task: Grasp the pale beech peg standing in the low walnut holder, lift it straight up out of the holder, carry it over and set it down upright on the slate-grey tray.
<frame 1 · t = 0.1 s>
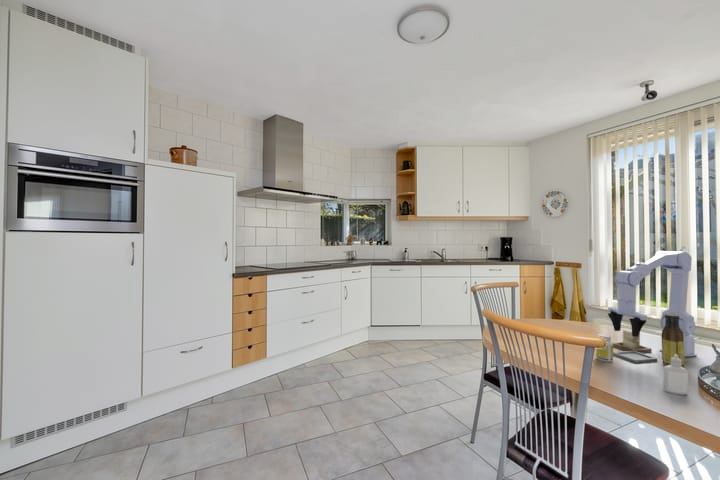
hand: (626, 333, 132), 10 cm above the table, tool pointing down, fingers open, 7 cm apart
eye dropper bottle: (675, 392, 103), on the table
sauce bottle: (672, 366, 124), on the table
supplement bottle: (604, 360, 130), on the table
peg: (631, 340, 143), in the holder
holder: (631, 349, 143), on the table
tray: (634, 358, 132), on the table
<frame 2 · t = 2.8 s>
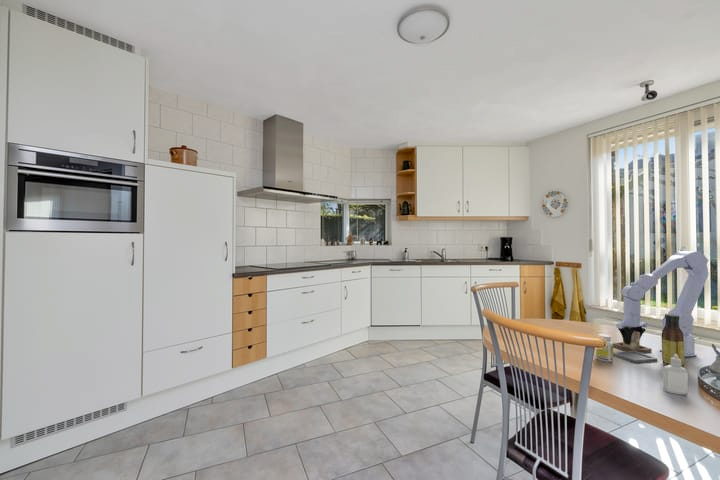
hand: (631, 343, 143), 2 cm above the table, tool pointing down, fingers closed on peg, 4 cm apart
peg: (631, 340, 143), in the holder, touching gripper
everything else where it was.
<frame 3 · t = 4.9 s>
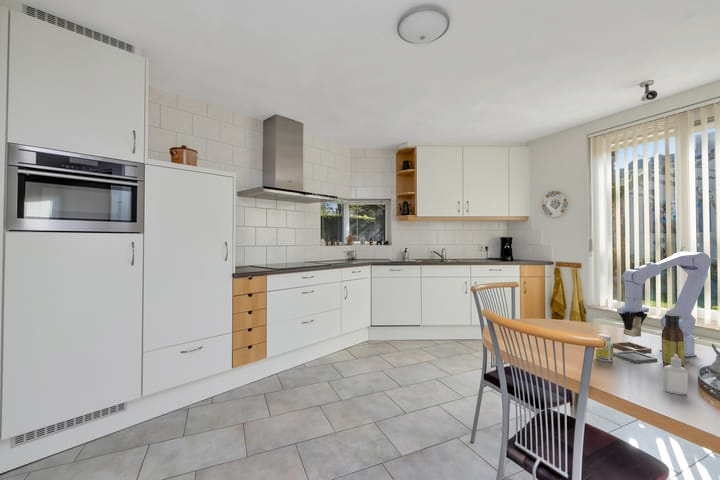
hand: (632, 329, 138), 10 cm above the table, tool pointing down, fingers closed on peg, 4 cm apart
peg: (632, 325, 138), point 11 cm above the table, touching gripper
everything else where it was.
when the fingers open (4 cm above the table, at t = 7.1 s): peg stays where it is, resting on tray.
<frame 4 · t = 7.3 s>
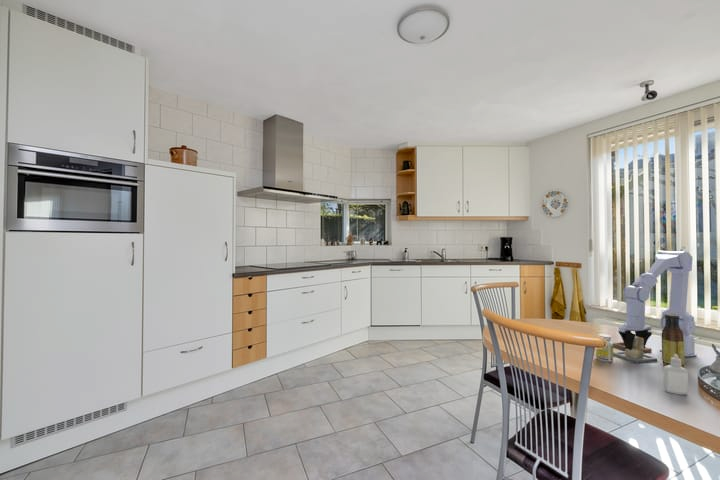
hand: (634, 348, 132), 4 cm above the table, tool pointing down, fingers open, 6 cm apart
peg: (634, 346, 132), point 5 cm above the table, touching tray
everything else where it was.
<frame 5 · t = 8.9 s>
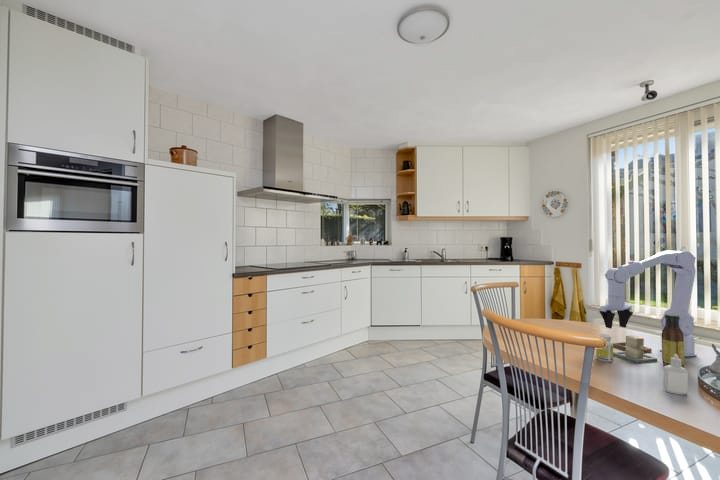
hand: (615, 327, 139), 10 cm above the table, tool pointing down, fingers open, 7 cm apart
nothing on the table moved.
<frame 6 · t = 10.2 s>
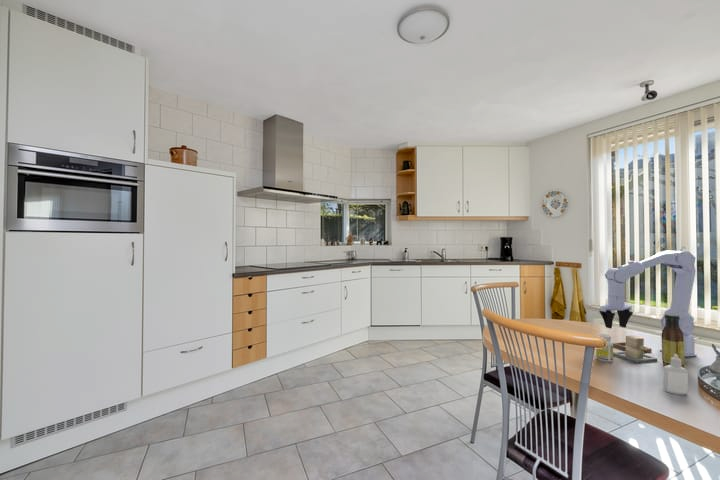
hand: (615, 327, 139), 10 cm above the table, tool pointing down, fingers open, 7 cm apart
nothing on the table moved.
at the end: peg inside the target area on the tray (0.1 cm from its centre), point 4.6 cm above the tray's base; peg tilted 0°; the gripper is holding nothing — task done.
